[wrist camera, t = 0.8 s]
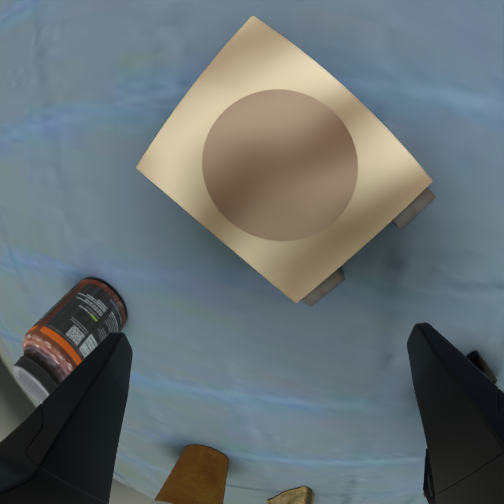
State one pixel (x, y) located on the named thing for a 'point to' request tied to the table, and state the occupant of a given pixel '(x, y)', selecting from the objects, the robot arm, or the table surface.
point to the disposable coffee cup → (196, 478)
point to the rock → (294, 497)
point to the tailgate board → (284, 163)
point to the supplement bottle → (67, 336)
